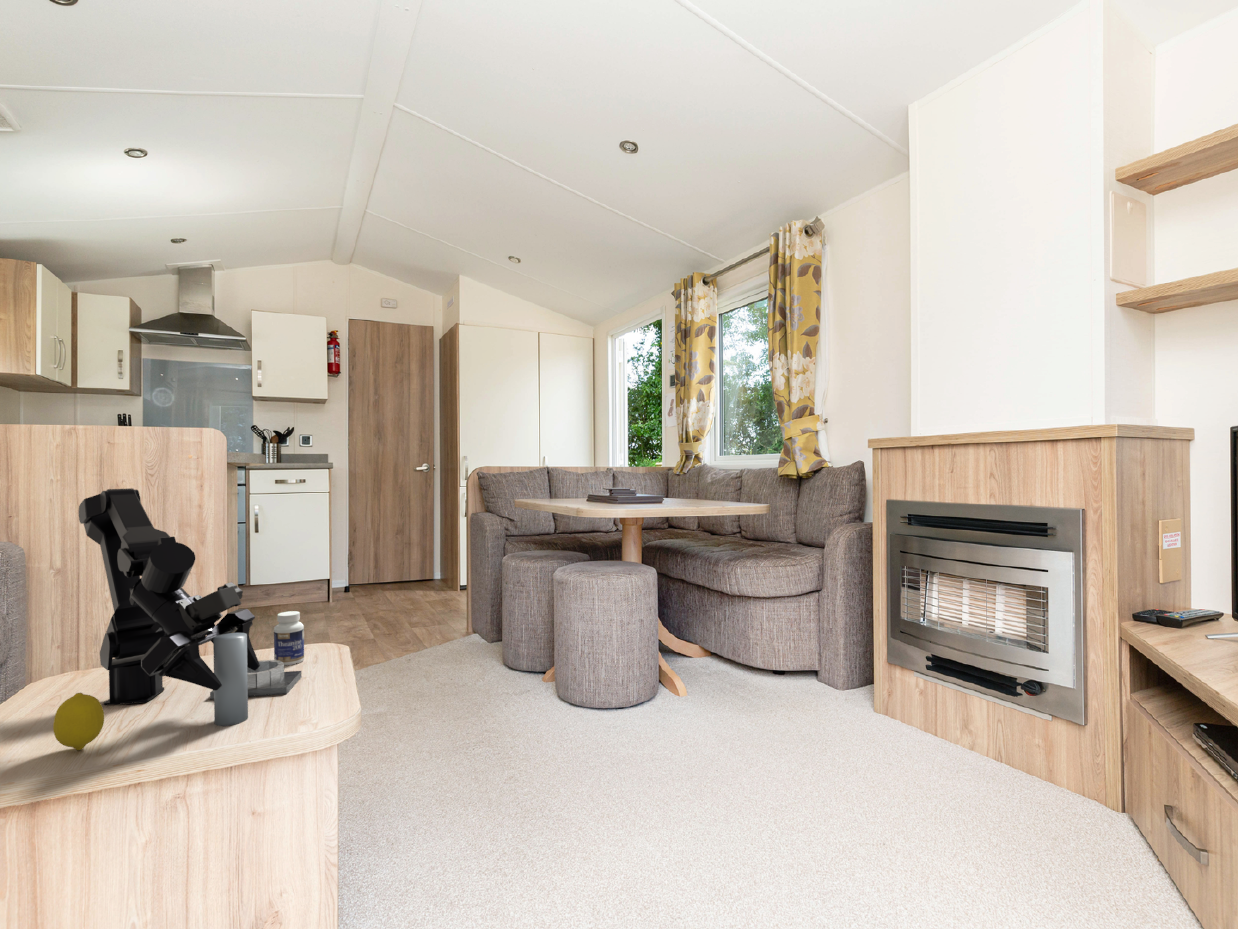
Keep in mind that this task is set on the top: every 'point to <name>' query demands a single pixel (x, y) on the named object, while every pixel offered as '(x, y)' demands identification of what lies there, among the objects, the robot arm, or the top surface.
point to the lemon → (78, 721)
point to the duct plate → (275, 687)
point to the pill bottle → (289, 638)
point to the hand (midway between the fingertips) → (239, 677)
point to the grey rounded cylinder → (230, 679)
